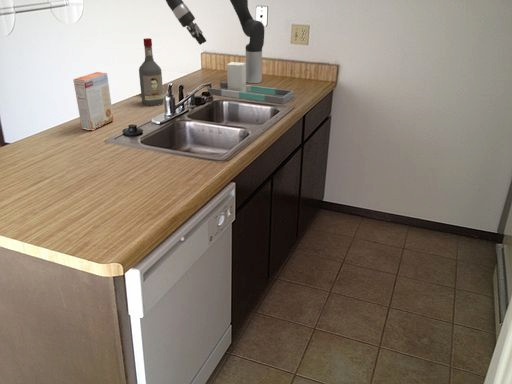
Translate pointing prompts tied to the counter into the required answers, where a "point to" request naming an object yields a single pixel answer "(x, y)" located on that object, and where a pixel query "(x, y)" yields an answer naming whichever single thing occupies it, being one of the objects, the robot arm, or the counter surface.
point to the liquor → (150, 78)
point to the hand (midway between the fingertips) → (203, 42)
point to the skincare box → (236, 76)
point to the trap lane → (279, 94)
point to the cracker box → (93, 100)
